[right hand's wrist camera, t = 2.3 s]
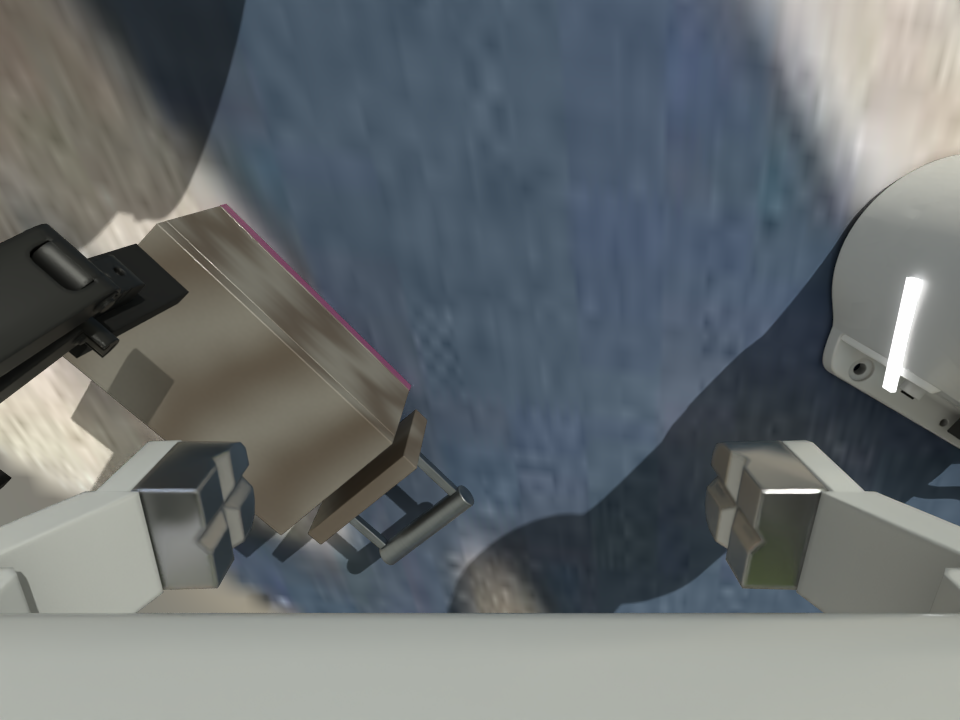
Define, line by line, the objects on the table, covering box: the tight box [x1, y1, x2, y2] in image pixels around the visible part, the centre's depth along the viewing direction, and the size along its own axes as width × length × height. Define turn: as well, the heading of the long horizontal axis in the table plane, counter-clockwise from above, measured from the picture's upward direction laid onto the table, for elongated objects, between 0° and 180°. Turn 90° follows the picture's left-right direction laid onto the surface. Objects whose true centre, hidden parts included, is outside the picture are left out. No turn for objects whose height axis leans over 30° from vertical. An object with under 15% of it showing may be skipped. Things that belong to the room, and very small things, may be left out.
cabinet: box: [63, 204, 411, 535], centre depth 37 cm, size 17×10×8 cm, turn 42°
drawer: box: [308, 410, 474, 565], centre depth 39 cm, size 22×9×6 cm, turn 42°
